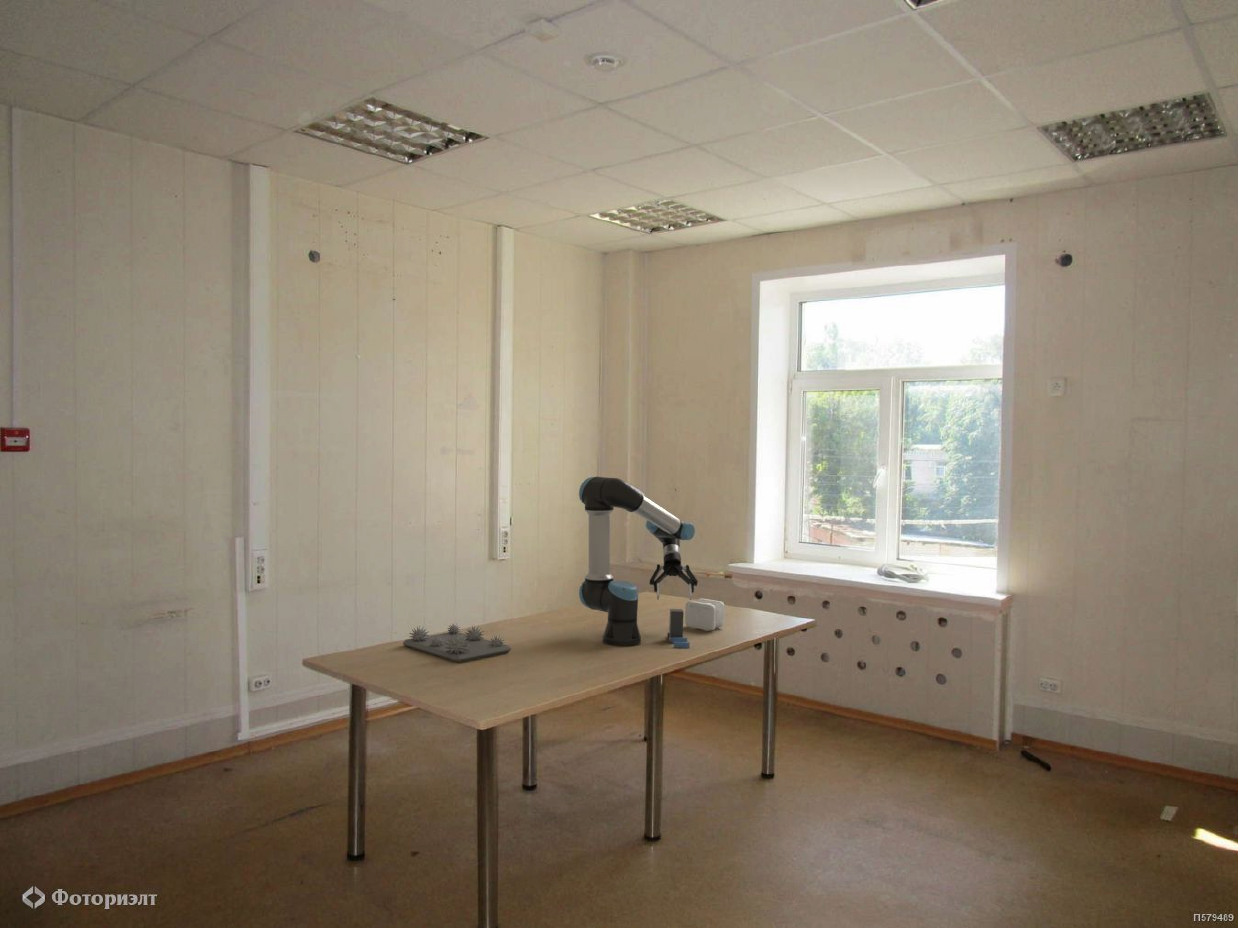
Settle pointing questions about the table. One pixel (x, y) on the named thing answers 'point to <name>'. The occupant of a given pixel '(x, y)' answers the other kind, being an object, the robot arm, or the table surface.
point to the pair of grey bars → (671, 637)
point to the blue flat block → (680, 642)
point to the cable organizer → (704, 614)
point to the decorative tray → (456, 644)
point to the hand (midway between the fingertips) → (674, 598)
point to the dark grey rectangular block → (676, 623)
